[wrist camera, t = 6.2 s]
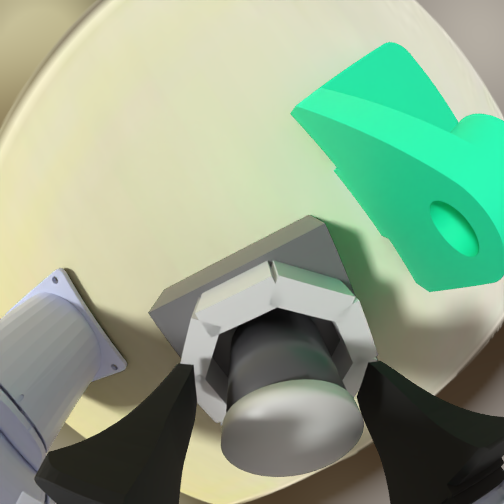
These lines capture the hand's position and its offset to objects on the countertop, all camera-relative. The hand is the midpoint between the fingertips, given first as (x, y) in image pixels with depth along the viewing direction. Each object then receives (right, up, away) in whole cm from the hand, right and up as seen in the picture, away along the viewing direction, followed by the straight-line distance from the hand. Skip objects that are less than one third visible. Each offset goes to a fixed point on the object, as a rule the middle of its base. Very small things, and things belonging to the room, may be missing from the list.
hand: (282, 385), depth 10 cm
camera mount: (+7, +11, +4) cm, 14 cm away
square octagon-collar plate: (0, +1, +6) cm, 6 cm away
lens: (0, +1, +3) cm, 3 cm away
